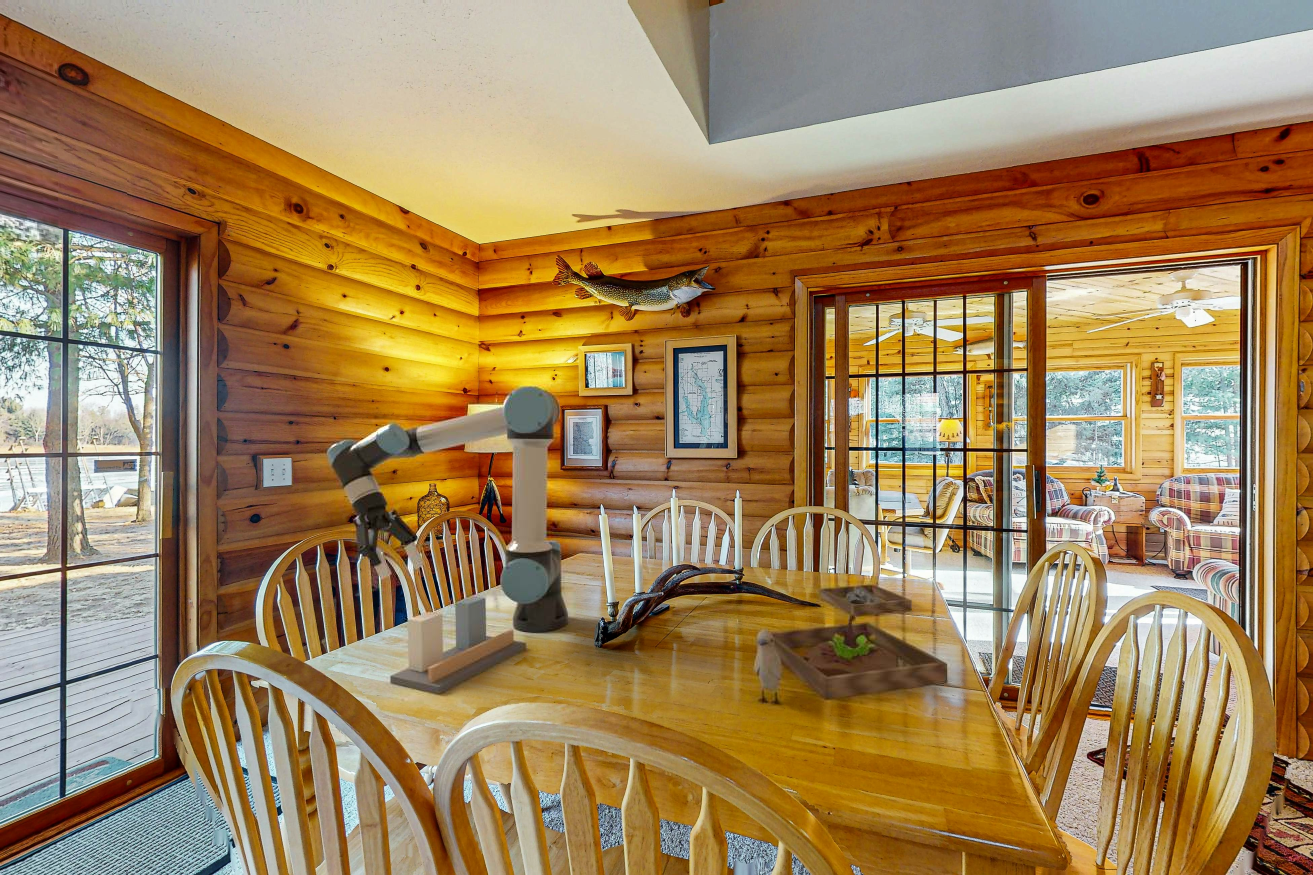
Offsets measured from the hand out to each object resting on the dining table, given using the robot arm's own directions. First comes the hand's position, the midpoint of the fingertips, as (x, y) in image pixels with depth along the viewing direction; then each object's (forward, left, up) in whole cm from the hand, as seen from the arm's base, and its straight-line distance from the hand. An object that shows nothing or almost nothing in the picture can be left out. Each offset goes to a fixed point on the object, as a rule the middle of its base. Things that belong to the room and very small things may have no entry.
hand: (404, 571), depth 148 cm
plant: (-99, +41, -20) cm, 109 cm away
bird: (-74, +53, -19) cm, 93 cm away
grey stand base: (-15, +16, -19) cm, 29 cm away
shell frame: (-129, +1, -19) cm, 130 cm away
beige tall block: (-7, +19, -17) cm, 26 cm away
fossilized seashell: (-129, +1, -19) cm, 131 cm away
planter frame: (-99, +41, -19) cm, 109 cm away
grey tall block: (-16, +8, -17) cm, 25 cm away
